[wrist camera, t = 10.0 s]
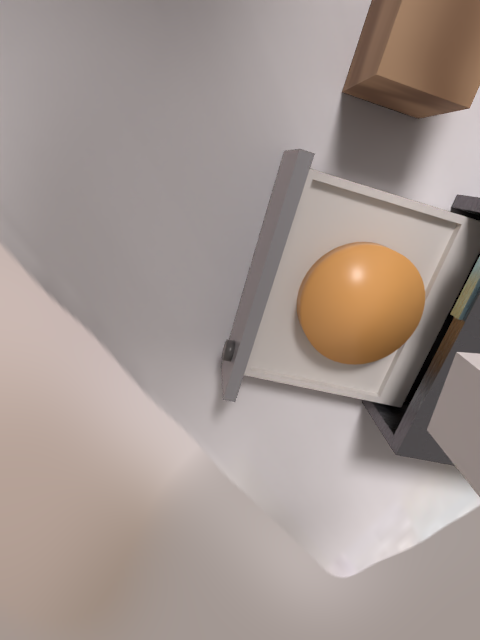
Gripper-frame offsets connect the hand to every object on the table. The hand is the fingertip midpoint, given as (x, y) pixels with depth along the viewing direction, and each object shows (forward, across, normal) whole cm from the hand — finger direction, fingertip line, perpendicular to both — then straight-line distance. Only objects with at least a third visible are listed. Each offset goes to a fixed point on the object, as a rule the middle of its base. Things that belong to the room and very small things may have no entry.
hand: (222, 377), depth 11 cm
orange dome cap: (+15, +10, -2) cm, 18 cm away
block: (+16, +9, +12) cm, 22 cm away
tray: (+16, +9, -2) cm, 19 cm away
